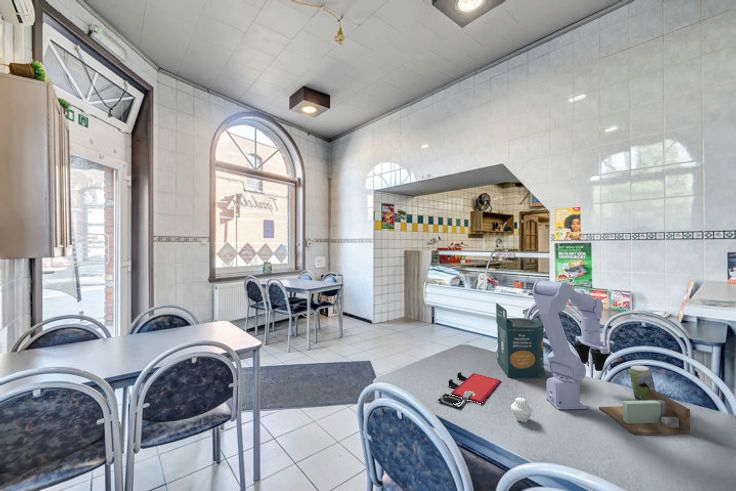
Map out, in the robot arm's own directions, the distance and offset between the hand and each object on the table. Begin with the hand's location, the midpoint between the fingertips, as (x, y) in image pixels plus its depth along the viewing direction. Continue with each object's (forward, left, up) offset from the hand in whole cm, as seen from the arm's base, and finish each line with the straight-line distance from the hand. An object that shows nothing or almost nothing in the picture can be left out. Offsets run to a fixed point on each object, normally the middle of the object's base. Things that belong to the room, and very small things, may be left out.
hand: (591, 366), depth 117 cm
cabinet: (+2, -19, -9) cm, 21 cm away
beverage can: (+12, -8, -10) cm, 17 cm away
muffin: (-34, -17, -10) cm, 39 cm away
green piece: (+1, -21, -9) cm, 23 cm away
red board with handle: (-45, +3, -10) cm, 46 cm away
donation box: (-16, +21, -10) cm, 28 cm away
